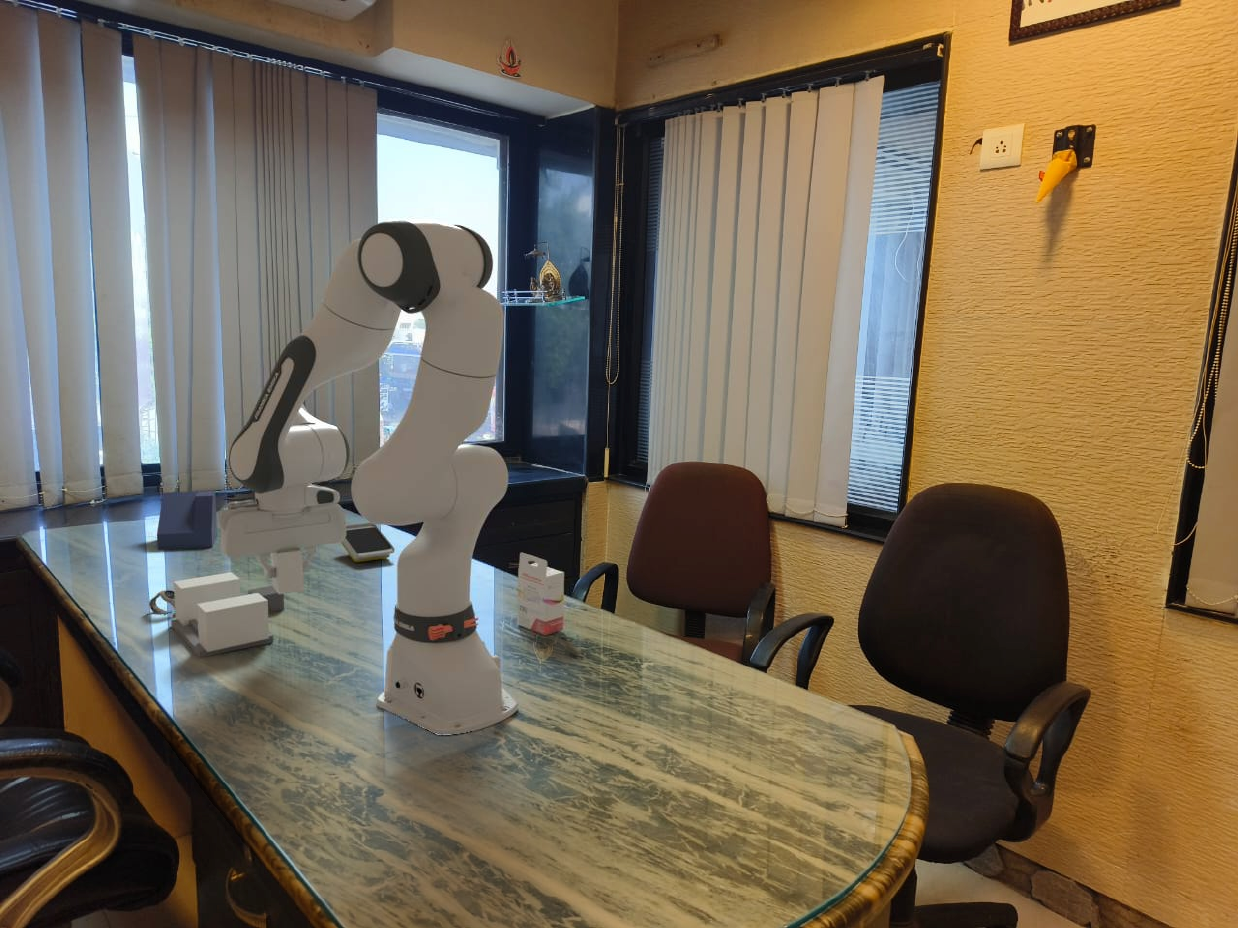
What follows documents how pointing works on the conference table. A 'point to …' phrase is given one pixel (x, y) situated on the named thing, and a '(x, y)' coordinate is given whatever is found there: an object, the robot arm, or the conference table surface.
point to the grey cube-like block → (270, 598)
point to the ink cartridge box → (539, 596)
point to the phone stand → (187, 520)
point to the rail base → (219, 615)
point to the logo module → (288, 571)
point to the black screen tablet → (366, 542)
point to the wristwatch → (166, 596)
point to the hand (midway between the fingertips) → (287, 574)
